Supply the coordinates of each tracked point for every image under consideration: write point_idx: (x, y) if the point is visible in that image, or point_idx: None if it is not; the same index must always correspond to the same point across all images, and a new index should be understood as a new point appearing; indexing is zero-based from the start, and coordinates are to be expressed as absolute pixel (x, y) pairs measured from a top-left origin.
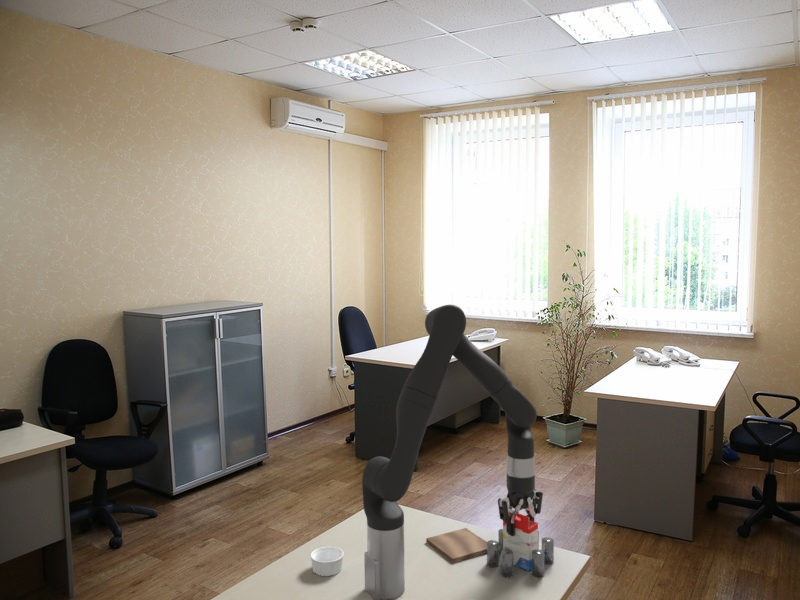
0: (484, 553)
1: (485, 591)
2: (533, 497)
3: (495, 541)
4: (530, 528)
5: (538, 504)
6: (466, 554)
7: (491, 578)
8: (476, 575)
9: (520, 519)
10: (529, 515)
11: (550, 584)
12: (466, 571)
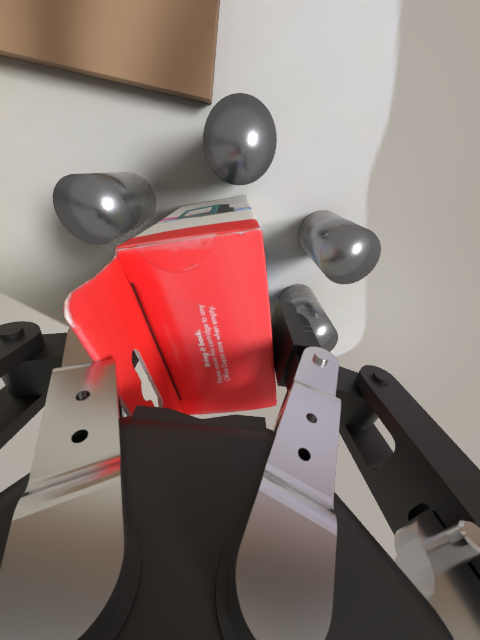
0: (153, 90)
1: (28, 298)
2: (409, 539)
3: (111, 207)
4: (195, 412)
5: (369, 484)
6: (26, 52)
7: (78, 262)
8: (34, 216)
9: (227, 338)
10: (290, 376)
11: None
12: (3, 165)
